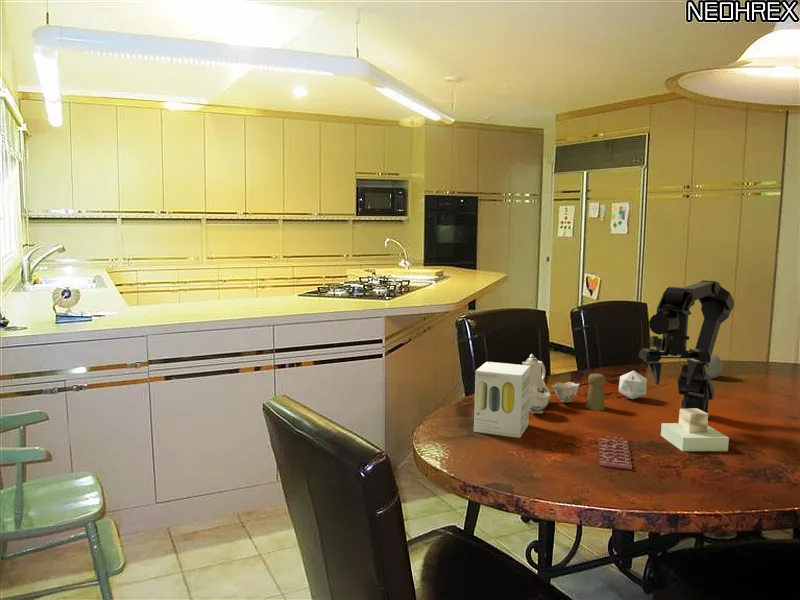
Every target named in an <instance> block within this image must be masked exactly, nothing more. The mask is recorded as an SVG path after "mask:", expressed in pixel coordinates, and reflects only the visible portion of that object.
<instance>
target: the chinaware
mask: <svg viewBox="0 0 800 600" xmlns="http://www.w3.org/2000/svg"><path fill="white" fill-rule="evenodd" d="M521 363H522V364H521V365H528V366H531V371H530V394H529V413H530V412H531V413H532V414H542V413H544V412H545V411H543V410H544V409H545V408H547V406H548V404H549V401H550V398H551V390H550V388H548V386H547V385H546V383H545V381H544V380H545V377H546V367H545V364H544V363H543V361H542V360H538V358H537V357H535V355H534V354H533V353H531V354H530V355H529V357H528V358H527V359H526V360H525V361H522V362H521ZM580 386H581V385H580V383H574V382H572V381H567V382H564V383H563V382H554V384H551V388H553V390H554V393H555V394H556V396H557V397H558V398H560V401H561V402H562V403H569V402H573V400H572V399H573V398H574V397H575V396H576V395H577V392H578V388H579V387H580Z"/></svg>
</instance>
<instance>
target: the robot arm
mask: <svg viewBox="0 0 800 600" xmlns="http://www.w3.org/2000/svg"><path fill="white" fill-rule="evenodd" d="M697 300H698V301H699V304H700V305H701V307H700V309H701V313H702V316H703V321H702V324H701V328H700V331H699V335H698V338H697V341H696V345H695V348H689V349H688V350H687V344H688V343H687V342H688V341H690V336H689V335H688V329H689V325H688V324H689V316H690V315H692V312H691V311H690V309H691V308H692V307H693V306H694V305H695V304H696V301H697ZM734 306H735V300H734V298H733V296H732V295H731V292H730V291H728V290H726V289H725V288H724V287H722V286H721V284H720V282H719V281H716V280H708V279H707V280H704V279H703V280H701V281H699V282H696V283H693V284H690V285H687V286H683V287H681V286H668V287H667V288H666V289H665V290H664V291H663V294H662V296H661V297H660V300H659V302H658V305H657V307H656V313H655V314H653V315H652V316H651V317H650V319H649V321H648V327H649V329H650V330H651V332H652V333H653V334H655V335H652V336H649V342H648V343H649V347H650V348H641V349H640V350H639V352H638V358H639V359H640V360H643V362H645V363H647V364H648V366H649V368H650V370H651V372H652V373H651V374H652V377H653V380H654V384H655V385H657V386H659V385H660V380H661V369H662V362H660V360H661V359H686V361H687V362H686V363H687V364H683V365H682V367H681V370H680V374H679V375H678V377H677V378H678V379H677V385H678V386H677V388H678V394H679V395H680V396H681V395H682V396H683V399H681V407H680V409H688V408H697V409H699V410H701V411H704V412H706V413H708V412H709V410H708V409H709V401H710V400H711V401H712V400H714V397H715V389H714V386H713V384H712V382H711V380H712V379H711V375H710V373H709V370H708V365H709V362H711V355H712V354H713V351H714V348H715V345H716V341H717V337H718V334H719V331H720V328H721V324H722V323H724V321H726V320H728V318H729V317H730V316H731V313H732V311H733V309H734V308H735V307H734ZM657 335H662V338H659V336H657ZM708 414H709V413H708ZM708 419H709V420H710V419H711V416H709V415H708Z"/></svg>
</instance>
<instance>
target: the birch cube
mask: <svg viewBox="0 0 800 600" xmlns="http://www.w3.org/2000/svg"><path fill="white" fill-rule="evenodd" d="M678 414H679V415H678V423H679V425H678V427H680V428H682V429H683V430H685V431H687V432H689V433H698V432H707V425H709V424H708V423H709V420H708V416H709V413H706V412H704V411H701V410H699V409H697V408H688V409H681V408H679V413H678Z"/></svg>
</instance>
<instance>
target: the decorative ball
mask: <svg viewBox="0 0 800 600" xmlns="http://www.w3.org/2000/svg"><path fill="white" fill-rule="evenodd" d="M708 370H709V373H710V375H711V380H712V379H713V380H714V379H716V378H718V377H719V376H720V375H721V373H722V372H723V370H724V363H723V361H722V359H721V358H720V357H719V356H718V355H717V354H714V353H712V355H711V362H709V365H708Z"/></svg>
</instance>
